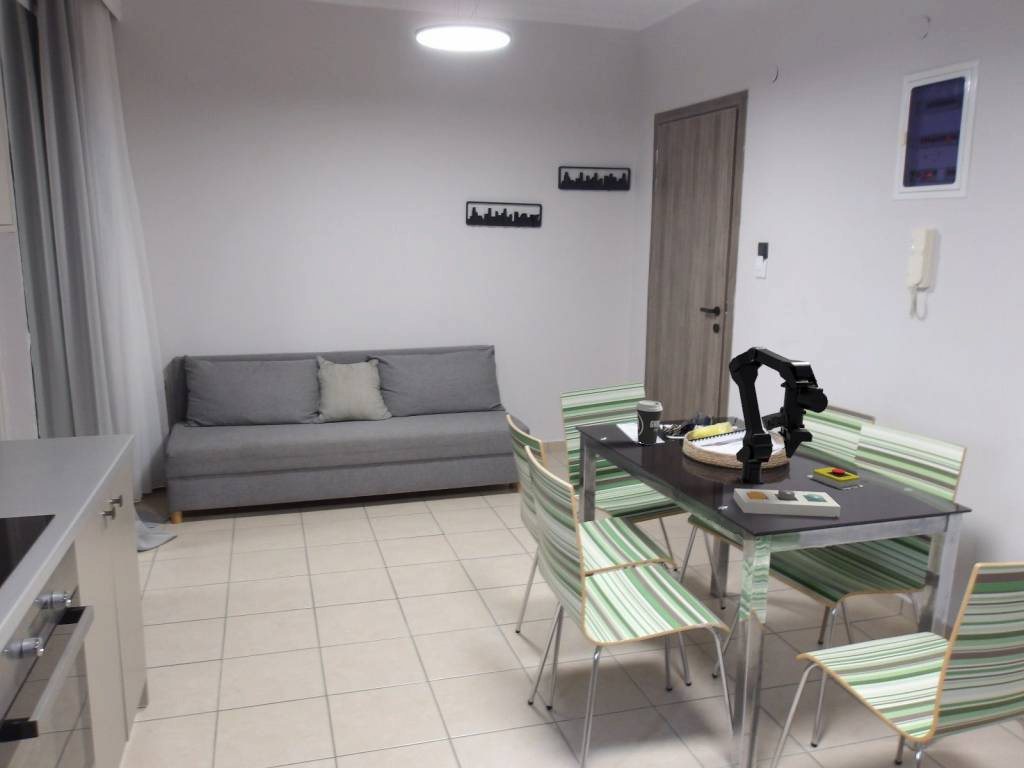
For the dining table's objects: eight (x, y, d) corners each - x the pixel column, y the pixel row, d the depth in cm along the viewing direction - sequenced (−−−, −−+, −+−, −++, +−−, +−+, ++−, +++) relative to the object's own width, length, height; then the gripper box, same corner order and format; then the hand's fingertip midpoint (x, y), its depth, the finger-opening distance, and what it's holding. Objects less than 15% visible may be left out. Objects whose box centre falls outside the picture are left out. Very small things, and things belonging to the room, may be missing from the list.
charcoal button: (775, 497, 226) (776, 489, 226) (791, 498, 226) (792, 490, 226) (780, 503, 222) (781, 494, 221) (796, 503, 222) (796, 495, 221)
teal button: (803, 502, 226) (804, 493, 226) (819, 502, 226) (820, 494, 225) (808, 507, 222) (809, 498, 221) (824, 508, 222) (825, 499, 221)
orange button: (746, 499, 227) (747, 491, 226) (762, 500, 226) (763, 491, 226) (750, 504, 222) (751, 496, 222) (766, 505, 222) (767, 496, 222)
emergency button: (845, 477, 241) (806, 464, 254) (843, 491, 242) (805, 477, 255) (866, 474, 245) (827, 461, 258) (864, 488, 246) (825, 474, 259)
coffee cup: (645, 448, 282) (647, 406, 279) (628, 441, 290) (630, 401, 287) (665, 445, 286) (668, 404, 283) (648, 438, 294) (651, 399, 292)
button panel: (733, 498, 231) (734, 488, 230) (824, 502, 230) (825, 492, 229) (743, 512, 219) (744, 502, 218) (839, 517, 218) (840, 506, 217)
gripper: (756, 397, 237) (752, 448, 240) (774, 411, 219) (769, 466, 222) (794, 399, 237) (789, 449, 240) (815, 413, 219) (809, 467, 222)
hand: (788, 457), depth 231 cm, fingers closed
